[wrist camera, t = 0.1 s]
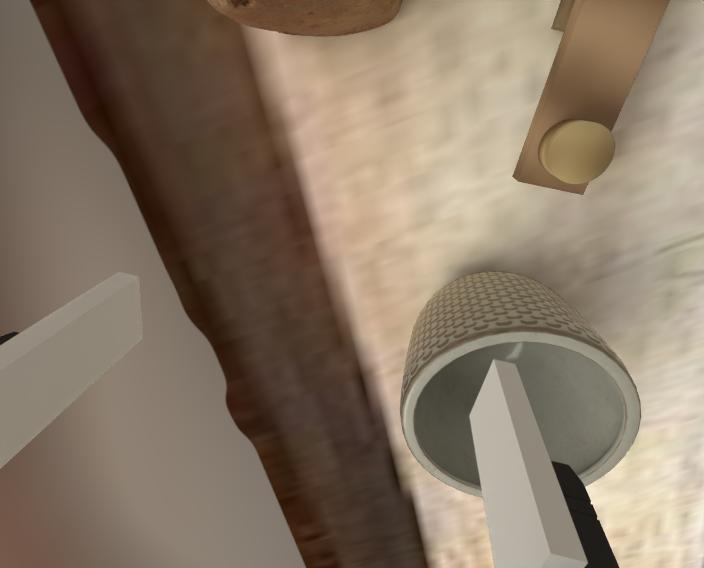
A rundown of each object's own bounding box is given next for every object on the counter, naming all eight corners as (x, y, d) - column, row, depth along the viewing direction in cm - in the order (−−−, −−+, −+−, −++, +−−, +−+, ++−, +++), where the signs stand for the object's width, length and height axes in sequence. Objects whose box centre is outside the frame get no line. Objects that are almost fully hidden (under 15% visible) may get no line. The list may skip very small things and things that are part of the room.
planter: (493, 403, 49) (525, 531, 35) (375, 332, 47) (358, 438, 33) (604, 302, 42) (703, 413, 27) (469, 212, 40) (500, 282, 25)
